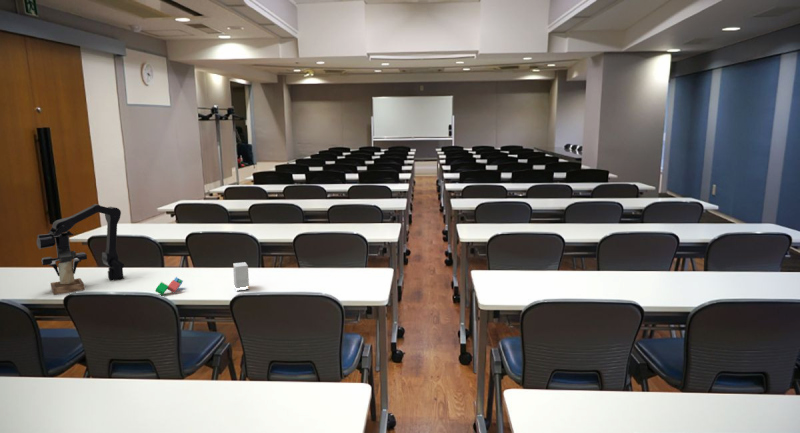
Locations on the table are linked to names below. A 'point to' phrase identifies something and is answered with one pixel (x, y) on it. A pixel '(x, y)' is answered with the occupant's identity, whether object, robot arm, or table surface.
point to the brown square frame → (67, 286)
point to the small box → (240, 275)
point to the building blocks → (172, 286)
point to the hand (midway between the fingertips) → (66, 274)
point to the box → (66, 272)
